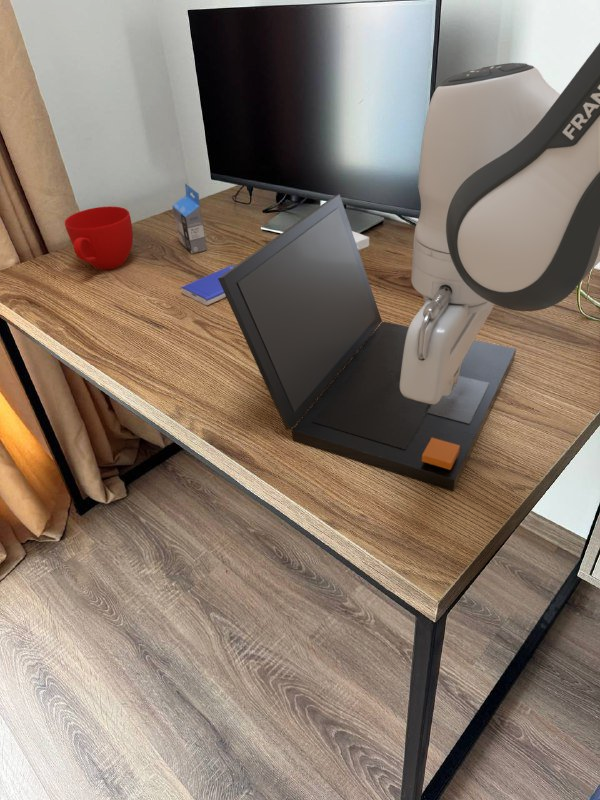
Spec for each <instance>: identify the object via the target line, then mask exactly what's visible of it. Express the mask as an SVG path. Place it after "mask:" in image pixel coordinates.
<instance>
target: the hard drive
mask: <svg viewBox="0 0 600 800" xmlns="http://www.w3.org/2000/svg"><path fill="white" fill-rule="evenodd" d="M235 266H236V265H234V264H231V265H229V266H227V267H224V268H222V269H220V270H217V271H215V272H212V273H210V274H208V275H206V276H203V277H202V278H201V277H200V278H199V279H197V280H193V281H192V282H190V283H187V284H186V285H182V286H181V287H180V290H181V293H182V295H184V296H186V297H188V298H190V299H192V300H194V301H196V302H198V303H200V304H203V305H204V306H209V305H211V304H213V303H214V304H215V303H216V302H218V301H221V300H222V299H225V298H227V297H226V295H225V293H224V291H223V289H222V286H221V284H220V282H219V280H218V278H219V277H221V276H222V275H224V274H225V273H226V272H228V271H229V270H231V269H232V268H233V267H235Z"/></svg>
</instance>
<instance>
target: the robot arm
mask: <svg viewBox="0 0 600 800" xmlns="http://www.w3.org/2000/svg"><path fill="white" fill-rule="evenodd" d="M417 189H418V194H419V198H420V211H419V216H418V219H417V221H416V223H415V227H414V233H413V234H414V237H413V249H412V260H411V261H412V263H411V276H410V282H411V285H412V287H413V289H415V291H416V292H418V293H419V294H420V295H422V299H423V301H424V303H423V305H422V307H420V309H419V310H418V312H417V313H416V314H415V316H414V317H413V318H412V320H411V322H410V324H409V326H408V327H409V329H408V332H407V336H406V340H405V346H404V353H403V360H402V368H401V376H400V391H401V393H402V395H403V396H404V397H406V398H409V399H413V400H416V401H420V402H424V403H428V404H437V403H438V402H439V401H440V399H441V397H442V395H444V396H449V395H450V393H451V392H452V390H453V388H454V386H455V384H456V382H457V381H458V378H459V371H460V367H461V364H462V361H463V359H464V357H465V355H466V354H467V352H468V350H469V349H470V347H471V345H472V343H473V342H474V340H476V338H477V336H478V335H479V333H480V331H481V330H482V328H483V326H484V325H485V323H486V321H487V319H488V317H489V316H490V314H491V312H492V310H493V308H494V306H498V307H499V308H504V309H507V310H511V311H514V312H535V311H536V312H537V311H540V310H545V309H549V308H550V307H553V306H555V305H557V304H559V303H561V302H562V301H564V300H565V299H567V298H568V297H569V296H570V295H571V294H572V293H573V292H574V291H575V289H576V288H577V287H578V286H580V284H581V283H582V281H583V280H584V279H585V278H586V277H587V276H588V274H589V273H590V272H591V271H592V270H593V269H594V268H595V267H596V266H597V265H598V264H600V42H599V43H598V44H597V45H596V47H595V48H594V49H593V51H592V52H591V53H590V55H589V56H588V57H587V58H586V60H585V62H584V63H583V64H582V65H581V66H580V68H579V70H578V71H577V72H576V73H575V75H574V76H573V77H572V78H571V80H570V81H569V83H568V84H567V85H566V87H565V88H564V89H563V90H562V92H561V93H560V92H558V91H557V90H556V89H555V88H554V87H552V86H551V85H550V84H549V83H548V82H547V81H546V79H545V78H544V76H543V75H542V73H541V72H540V70H539V69H538V68H537V67H535V66H534V65H531V64H528V63H526V62H525V63H523V62H508V63H500V64H495V65H490V66H489V65H488V66H483V67H481V68H478V69H473V70H472V69H471V70H470V69H469V70H466V71H464V72H459V73H456V74H455V75H452V76H449V77H448V78H447V79H445V80H444V81H443V82H441V83H440V84H439V86H437V88H436V89H435V90H434V92H433V94H432V96H431V98H430V102H429V105H428V108H427V113H426V116H425V122H424V127H423V133H422V139H421V147H420V155H419V166H418V177H417Z"/></svg>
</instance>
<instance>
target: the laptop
mask: <svg viewBox="0 0 600 800" xmlns="http://www.w3.org/2000/svg"><path fill="white" fill-rule="evenodd" d="M408 329H409V326H407V325H402V324H397V323H392V322H388V321H382V322H381V323H380V324H379V326H378V327H377V328H376V329H375V330H374V332H373V333H372V334H371V335H370V336H369V338H368V339H367V340H366V341H365V342H364V343H363V345H362V346H361V347H360V348H359V349H358V351H357V352H356V353H355V354H354V355H353V357H352V358H351V359H350V360H349V361H348V363H347V364H346V365H345V366H344V367H343V368H342V370H341V371H340V372H339V373H338V374H337V376H336V377H335V378H334V379H333V380H332V382H331V383H330V384H329V385H328V386H327V387H326V389H325V390H324V391H323V392H322V393H321V395H320V396H319V397H318V398H317V399H316V401H315V402H314V403H313V404H312V405H311V407H310V408H309V409H308V410H307V411H306V412H305V414H304V415H303V416H302V417H301V418H300V420H299V421H298V422H297V423H296V424H295V426H294V427H293V428H292V429H291V436H292V441H293V442H295V443H298V444H302V445H306V446H309V447H312V448H316V449H318V450H320V451H321V450H322V451H324V452H328V453H330V454H334V455H336V456H337V455H338V456H340V457H344V458H347V459H350V460H352V461H353V460H354V461H356V462H359V463H363V464H366V465H369V466H372V467H375V468H378V469H381V470H385V471H388V472H391V473H395V474H396V475H400V476H403V477H407V478H410V479H412V480H416V481H420V482H422V483H425V484H428V485H432V486H434V487H439V488H442V489H444V490H446V491H447V490H448V491H451V492H454V491H455V488H456V486H457V484H458V483H459V480H460V479H461V476H462V473H463V471H464V469H465V467H466V465H467V463H468V460H469V459H470V456H471V454H472V452H473V449H474V447H475V445H476V443H477V441H478V439H479V437H480V434H481V433H482V430H483V427H484V426H485V424H486V422H487V419H488V417H489V415H490V413H491V411H492V408H493V406H494V404H495V402H496V400H497V397H498V395H499V393H500V391H501V389H502V387H503V384H504V382H505V381H506V378H507V376H508V373H509V371H510V369H511V367H512V365H513V363H514V360H515V357H516V351H517V348H515V347H509V346H504V345H500V344H495V343H491V342H485V341H481V340H476V339H475V340H474V342H473V343H472V345H471V347H470V349H469V350H468V352H467V354H466V355H465V357H464V359H463V361H462V364H461V367H460V371H459V378H458V381H457V382H456V384H455V386H454V388H453V390H452V392H451V393H450V395H449V396H444V395H442V397H441V399H440V401H439V402H438V403H437V404H428V403H424V402H420V401H416V400H413V399H409V398H406V397H404V396H403V395H402V393H401V391H400V376H401V368H402V360H403V353H404V346H405V340H406V336H407V332H408ZM431 438H435V439H439V440H442V441H446V442H449V443H453V444H456V445H460V450H459V453H458V455H457V457H456V459H455V461H454V464H453V466H452V468H451V470H449V469H445V468H442V467H439V466H435V465H432V464H429V463H426V462H422V454H423V453H424V451H425V449H426V447H427V445H428V443H429V442H430V440H431Z"/></svg>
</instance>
